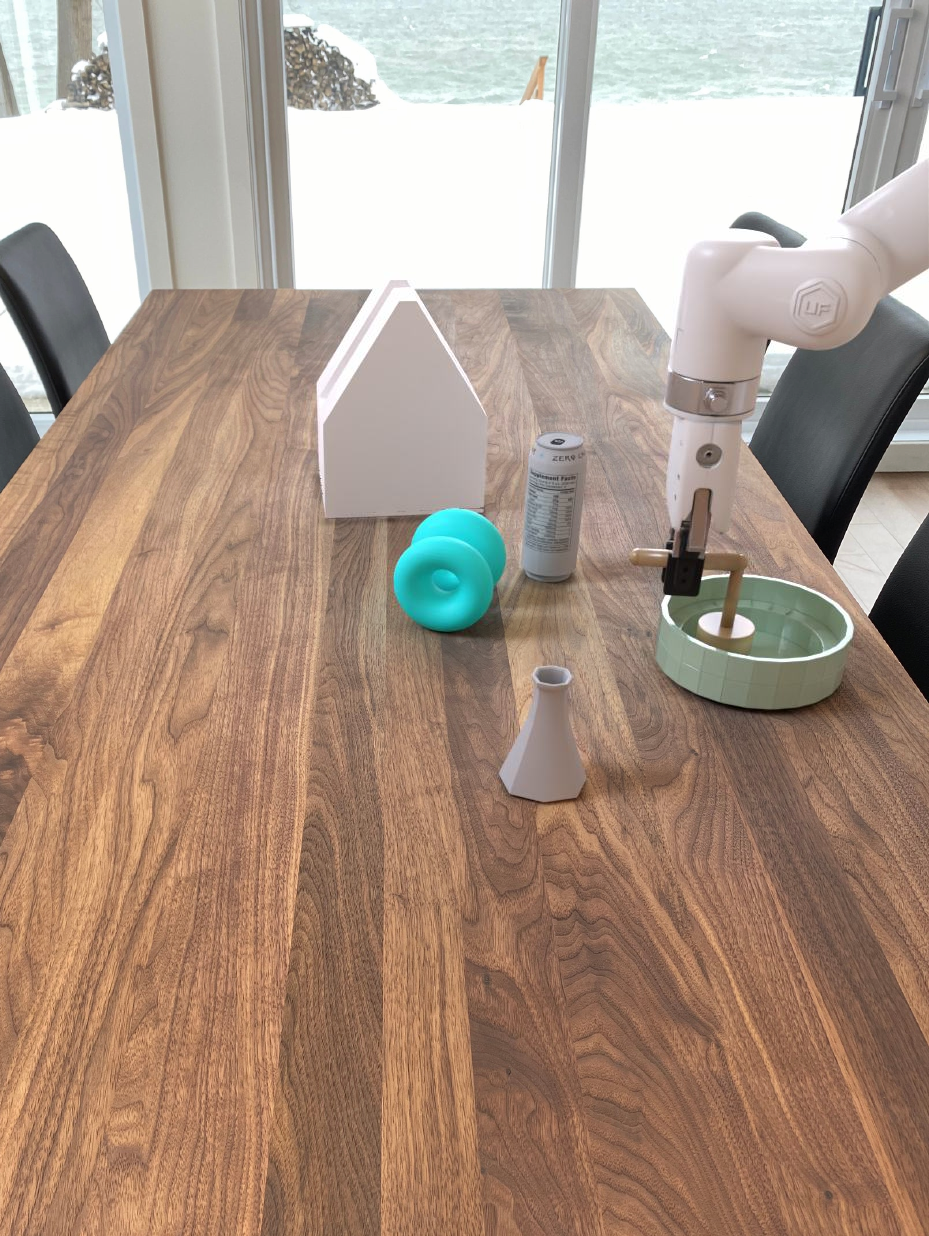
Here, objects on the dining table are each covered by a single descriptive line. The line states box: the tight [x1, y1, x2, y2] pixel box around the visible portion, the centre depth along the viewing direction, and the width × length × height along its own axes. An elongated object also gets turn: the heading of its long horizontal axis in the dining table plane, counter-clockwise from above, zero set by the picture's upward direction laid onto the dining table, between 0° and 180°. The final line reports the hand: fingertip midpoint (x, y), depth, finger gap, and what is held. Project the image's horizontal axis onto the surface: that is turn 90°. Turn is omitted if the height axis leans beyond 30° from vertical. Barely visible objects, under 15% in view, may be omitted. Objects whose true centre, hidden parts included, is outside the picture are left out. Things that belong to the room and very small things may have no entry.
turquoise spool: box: [393, 508, 507, 633], centre depth 119 cm, size 10×10×10 cm
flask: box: [498, 665, 587, 803], centre depth 95 cm, size 7×7×10 cm
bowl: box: [653, 573, 855, 710], centre depth 111 cm, size 17×17×6 cm
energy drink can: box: [520, 431, 589, 583], centre depth 126 cm, size 6×6×15 cm
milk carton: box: [316, 267, 490, 519], centre depth 142 cm, size 19×15×25 cm
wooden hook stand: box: [628, 547, 755, 656], centre depth 110 cm, size 12×5×10 cm, turn 82°
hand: (679, 587), depth 109 cm, fingers closed on wooden hook stand, 1 cm apart
